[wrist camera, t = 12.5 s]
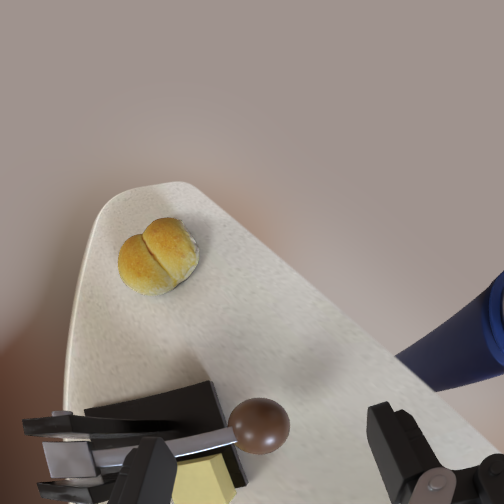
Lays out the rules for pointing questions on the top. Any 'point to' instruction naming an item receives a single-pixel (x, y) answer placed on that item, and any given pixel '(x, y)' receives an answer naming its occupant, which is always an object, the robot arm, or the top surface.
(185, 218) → the top surface
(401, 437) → the robot arm
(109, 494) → the slicer
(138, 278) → the bread roll
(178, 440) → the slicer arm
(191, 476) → the butter
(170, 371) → the top surface
